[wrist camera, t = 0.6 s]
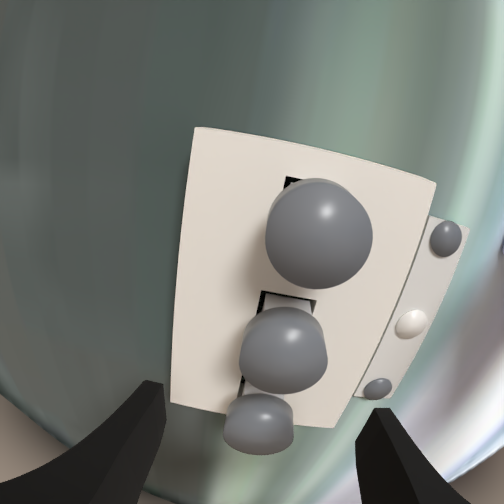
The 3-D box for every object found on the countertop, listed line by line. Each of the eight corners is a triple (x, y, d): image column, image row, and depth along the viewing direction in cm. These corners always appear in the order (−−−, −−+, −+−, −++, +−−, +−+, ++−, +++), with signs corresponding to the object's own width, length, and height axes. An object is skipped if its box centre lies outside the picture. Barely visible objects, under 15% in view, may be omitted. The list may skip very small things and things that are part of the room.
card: (468, 225, 17) (472, 228, 16) (388, 396, 22) (390, 401, 22) (427, 213, 17) (431, 215, 16) (352, 394, 22) (353, 398, 22)
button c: (299, 372, 19) (302, 422, 16) (284, 411, 21) (283, 458, 17) (236, 362, 19) (227, 411, 16) (227, 402, 21) (219, 449, 17)
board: (421, 176, 16) (436, 183, 14) (330, 408, 23) (333, 428, 21) (204, 127, 16) (195, 127, 14) (177, 383, 23) (170, 401, 21)
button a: (359, 181, 15) (385, 200, 11) (338, 257, 16) (354, 297, 12) (277, 162, 15) (276, 175, 11) (261, 241, 16) (255, 278, 12)
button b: (327, 291, 17) (339, 336, 13) (308, 348, 19) (313, 399, 15) (254, 277, 17) (246, 321, 13) (241, 337, 19) (233, 386, 15)
